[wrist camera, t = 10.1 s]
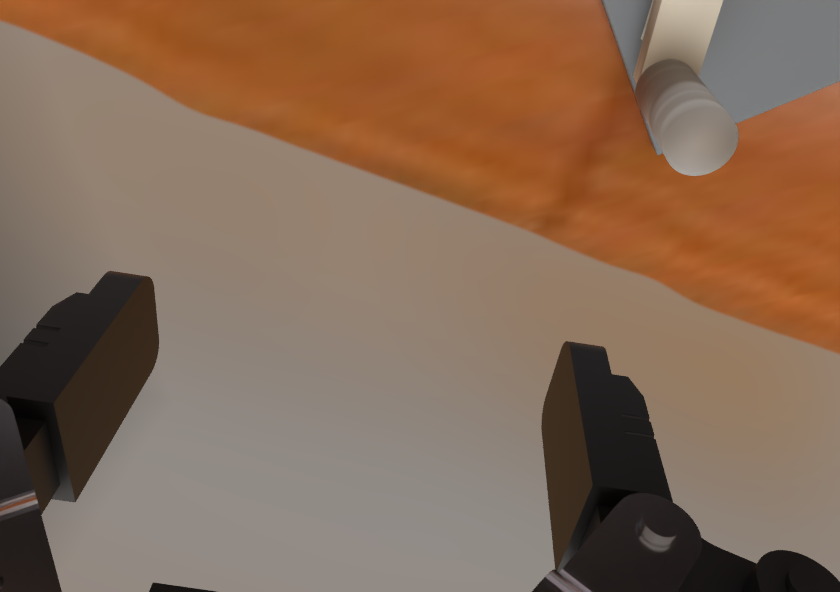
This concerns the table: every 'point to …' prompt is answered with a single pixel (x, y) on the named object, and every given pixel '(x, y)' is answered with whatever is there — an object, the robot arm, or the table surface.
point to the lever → (683, 87)
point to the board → (749, 51)
